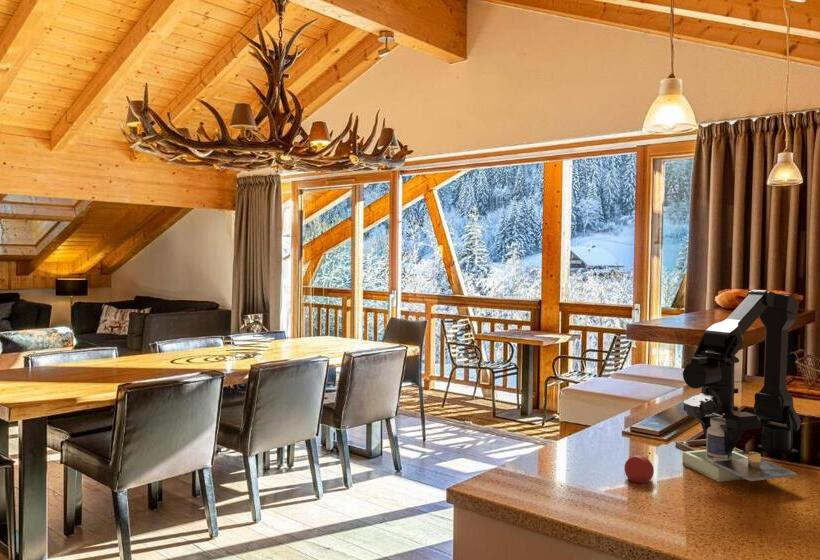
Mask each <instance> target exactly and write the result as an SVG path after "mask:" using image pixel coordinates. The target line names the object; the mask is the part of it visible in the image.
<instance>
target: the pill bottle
mask: <svg viewBox="0 0 820 560" xmlns="http://www.w3.org/2000/svg"><path fill="white" fill-rule="evenodd" d="M710 424H711V427H709V428H708V429H707V444H706V449H705V450H706V458H707V460H709V461H711V462H714V461H724V460H732V452H731V453H730V454H727V453H726V450H725V435H724V430H723V429H722V428H721V427H720V425H726V419H723V418H721V417H713V418H711V419H710Z"/></svg>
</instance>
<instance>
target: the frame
mask: <svg viewBox="0 0 820 560" xmlns="http://www.w3.org/2000/svg"><path fill="white" fill-rule="evenodd" d="M684 442H686V443H688V446H686V445H684V444H683V443H684ZM704 445H707V440H706V438H705V439H692V440H680V441H675V447H676V448H679V449H681V450H683V451H684V452H687V451H697V450H698V449H695V448H693V446H704ZM734 449H735V450H736V451H735V452H737V453H739V454H742V455H744V456H745V451H744V450H742V449H740V448H737V447H736V446H735V447H734Z"/></svg>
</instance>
